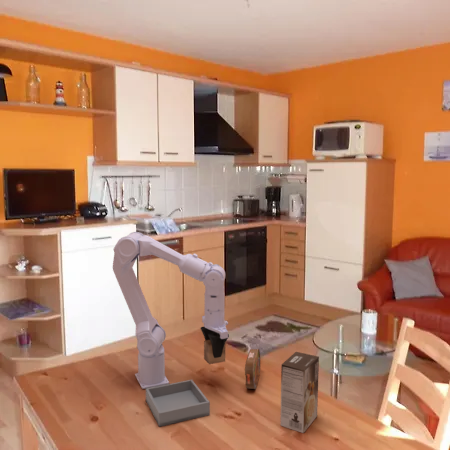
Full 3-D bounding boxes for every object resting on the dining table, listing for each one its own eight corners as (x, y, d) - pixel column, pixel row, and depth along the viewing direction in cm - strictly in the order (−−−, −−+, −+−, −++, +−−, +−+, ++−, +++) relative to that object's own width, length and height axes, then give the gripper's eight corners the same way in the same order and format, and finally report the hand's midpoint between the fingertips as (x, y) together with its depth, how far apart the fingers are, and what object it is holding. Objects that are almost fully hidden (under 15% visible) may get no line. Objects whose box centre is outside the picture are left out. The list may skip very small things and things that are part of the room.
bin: (145, 400, 121) (145, 388, 120) (192, 391, 126) (191, 379, 126) (159, 426, 109) (159, 413, 108) (209, 414, 114) (209, 402, 114)
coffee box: (294, 409, 117) (296, 350, 115) (317, 416, 114) (319, 356, 112) (279, 426, 109) (280, 363, 107) (304, 434, 106) (306, 370, 104)
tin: (254, 394, 124) (255, 366, 123) (243, 393, 125) (243, 364, 124) (261, 370, 139) (261, 344, 138) (251, 369, 140) (251, 343, 139)
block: (204, 358, 130) (204, 340, 129) (219, 356, 132) (219, 338, 131) (209, 364, 127) (209, 345, 126) (225, 361, 129) (225, 343, 128)
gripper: (238, 314, 122) (237, 361, 124) (217, 299, 135) (217, 342, 137) (214, 317, 119) (214, 366, 121) (195, 302, 133) (195, 346, 134)
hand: (214, 353), depth 129 cm, fingers closed on block, 4 cm apart
